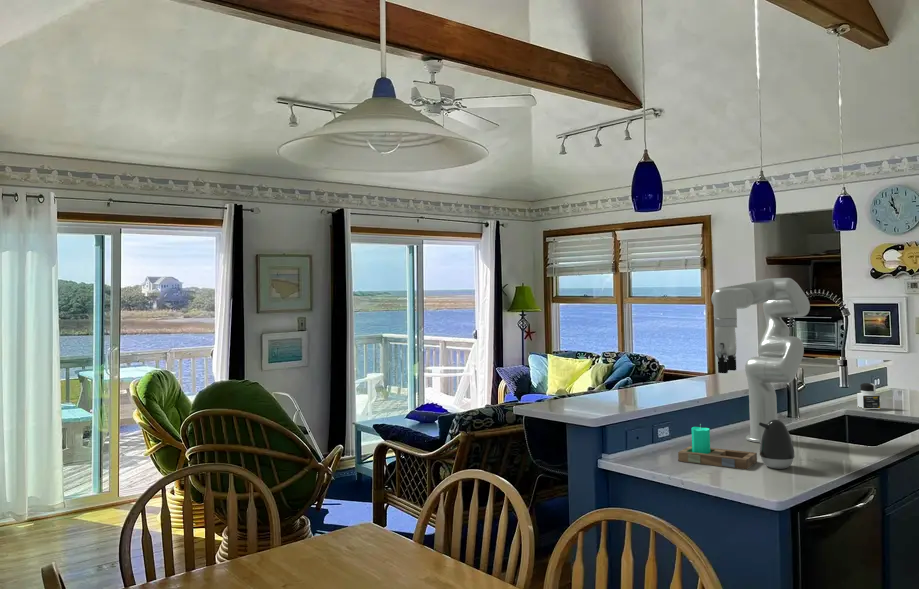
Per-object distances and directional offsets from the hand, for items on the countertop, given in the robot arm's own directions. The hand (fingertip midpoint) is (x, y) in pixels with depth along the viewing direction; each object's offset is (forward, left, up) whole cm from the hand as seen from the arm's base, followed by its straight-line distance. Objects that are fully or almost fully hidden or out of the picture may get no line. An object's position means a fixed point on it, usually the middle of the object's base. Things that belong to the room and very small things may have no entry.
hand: (727, 371), depth 243 cm
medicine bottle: (-119, +27, -28) cm, 125 cm away
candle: (+17, -4, -28) cm, 33 cm away
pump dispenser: (+15, +19, -28) cm, 37 cm away
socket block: (+17, +1, -28) cm, 33 cm away
